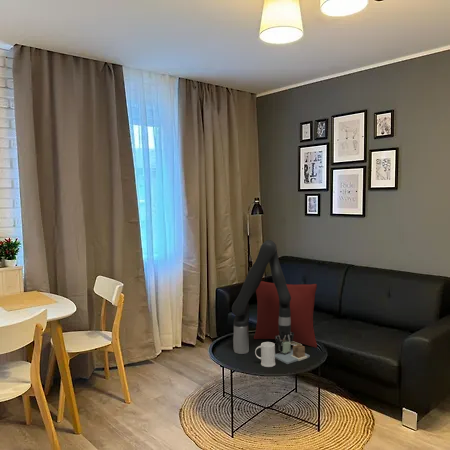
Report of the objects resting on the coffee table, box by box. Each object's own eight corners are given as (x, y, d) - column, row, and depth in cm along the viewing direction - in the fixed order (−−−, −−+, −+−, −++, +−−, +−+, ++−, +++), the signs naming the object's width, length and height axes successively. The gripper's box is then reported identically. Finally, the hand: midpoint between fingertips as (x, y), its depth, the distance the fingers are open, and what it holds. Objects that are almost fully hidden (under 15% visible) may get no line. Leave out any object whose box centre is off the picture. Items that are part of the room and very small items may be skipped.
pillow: (320, 343, 287) (320, 281, 283) (314, 351, 274) (314, 286, 270) (258, 335, 305) (257, 276, 302) (250, 342, 292) (249, 281, 288)
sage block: (278, 350, 269) (278, 341, 269) (284, 348, 272) (284, 339, 272) (284, 353, 265) (284, 343, 265) (290, 351, 268) (290, 341, 267)
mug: (253, 365, 254) (253, 345, 253) (257, 360, 262) (256, 340, 261) (274, 367, 250) (273, 347, 249) (276, 361, 258) (276, 342, 257)
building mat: (271, 356, 267) (271, 354, 266) (293, 349, 276) (293, 348, 276) (287, 364, 255) (287, 362, 254) (310, 357, 264) (310, 355, 264)
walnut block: (293, 355, 265) (292, 346, 264) (299, 353, 267) (299, 344, 267) (298, 358, 260) (298, 348, 260) (304, 356, 263) (304, 346, 263)
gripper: (289, 319, 274) (289, 345, 276) (271, 323, 266) (271, 350, 268) (297, 322, 268) (297, 349, 270) (279, 327, 260) (279, 354, 262)
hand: (284, 349), depth 269 cm, fingers closed on sage block, 5 cm apart
